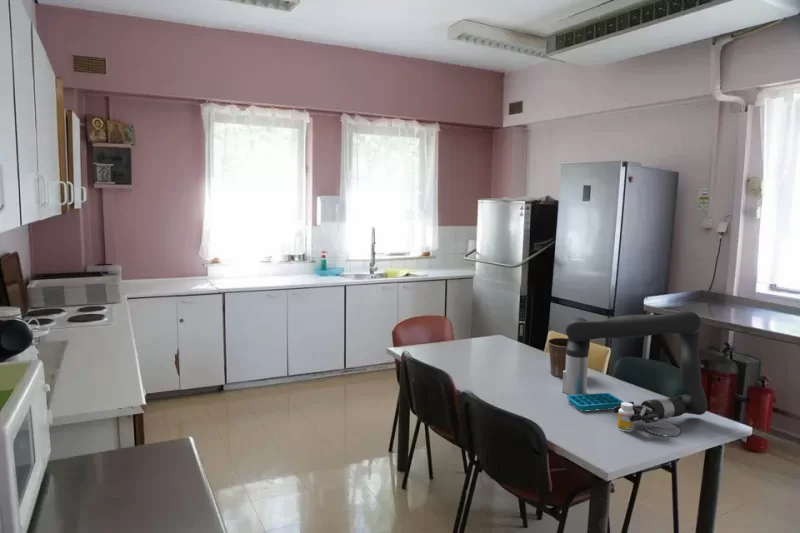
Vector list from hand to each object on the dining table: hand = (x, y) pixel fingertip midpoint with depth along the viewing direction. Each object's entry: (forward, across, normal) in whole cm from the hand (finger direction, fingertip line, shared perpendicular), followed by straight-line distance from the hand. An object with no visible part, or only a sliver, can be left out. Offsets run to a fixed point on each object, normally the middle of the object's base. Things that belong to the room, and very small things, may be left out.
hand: (622, 414), depth 200 cm
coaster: (-15, +4, +6) cm, 16 cm away
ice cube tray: (-6, -23, +7) cm, 25 cm away
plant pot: (-17, -60, +6) cm, 63 cm away
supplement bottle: (-2, 0, +6) cm, 6 cm away
